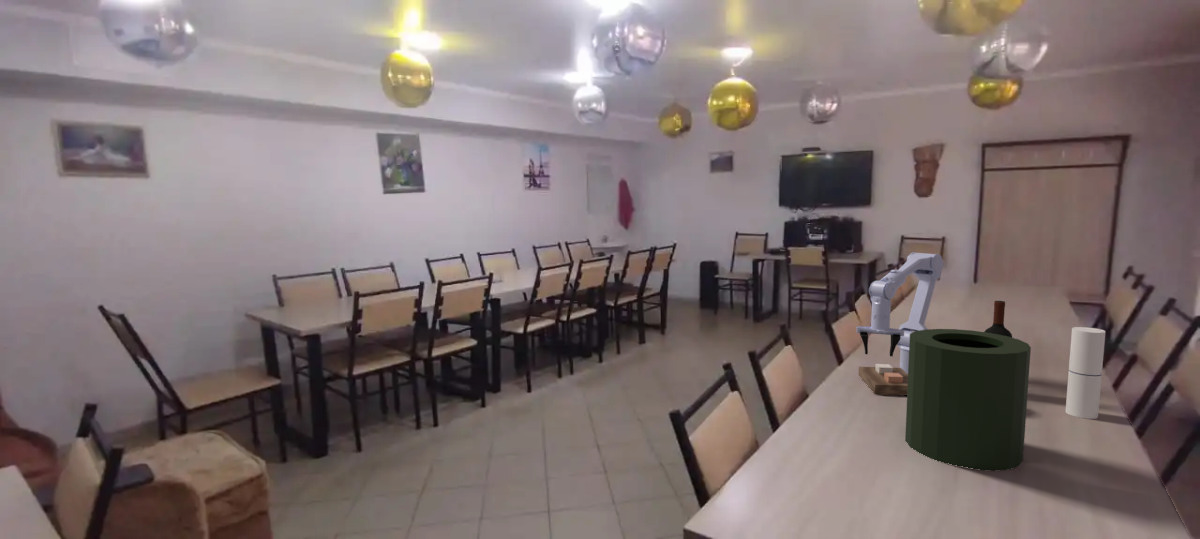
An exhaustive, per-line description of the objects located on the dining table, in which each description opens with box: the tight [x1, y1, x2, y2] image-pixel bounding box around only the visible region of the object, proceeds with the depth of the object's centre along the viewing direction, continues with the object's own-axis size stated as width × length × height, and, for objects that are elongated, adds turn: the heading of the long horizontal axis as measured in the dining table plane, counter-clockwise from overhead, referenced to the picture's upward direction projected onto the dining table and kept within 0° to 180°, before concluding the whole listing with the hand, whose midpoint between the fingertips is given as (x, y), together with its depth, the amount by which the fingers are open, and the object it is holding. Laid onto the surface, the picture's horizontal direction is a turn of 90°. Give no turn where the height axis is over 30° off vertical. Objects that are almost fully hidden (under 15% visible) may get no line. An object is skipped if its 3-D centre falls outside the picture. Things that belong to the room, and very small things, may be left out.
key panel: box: [857, 366, 908, 396], centre depth 188 cm, size 14×20×3 cm
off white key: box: [874, 363, 894, 374], centre depth 193 cm, size 4×4×3 cm
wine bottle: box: [983, 300, 1013, 338], centre depth 178 cm, size 8×8×30 cm
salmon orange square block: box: [884, 372, 903, 383], centre depth 183 cm, size 4×4×3 cm
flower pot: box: [904, 328, 1032, 472], centre depth 139 cm, size 25×25×28 cm
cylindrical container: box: [1065, 326, 1106, 420], centre depth 159 cm, size 7×7×25 cm
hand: (878, 354), depth 190 cm, fingers open, 7 cm apart
